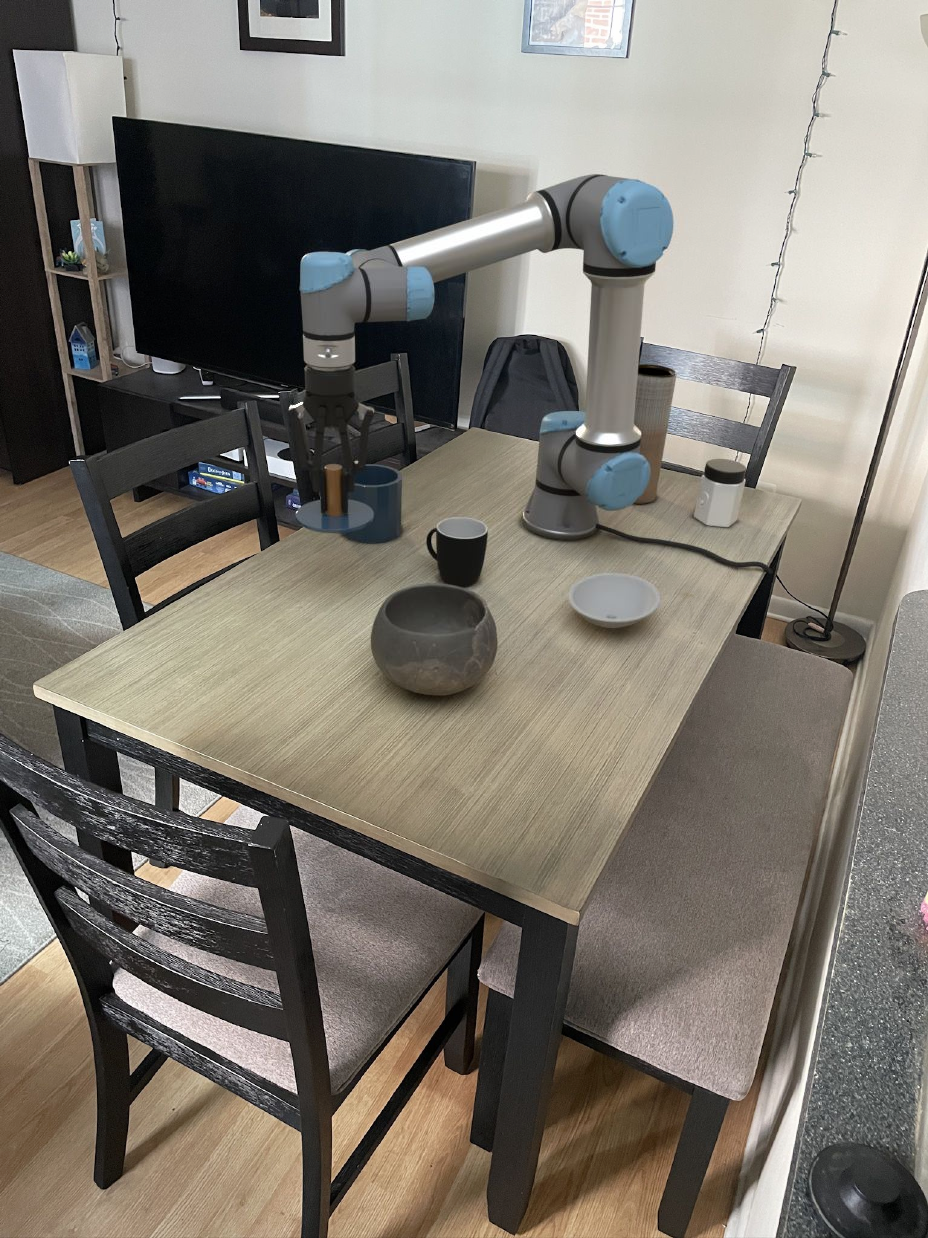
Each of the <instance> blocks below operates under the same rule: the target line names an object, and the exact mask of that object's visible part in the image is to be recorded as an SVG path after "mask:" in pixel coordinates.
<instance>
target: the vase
mask: <svg viewBox="0 0 928 1238" xmlns="http://www.w3.org/2000/svg"><path fill="white" fill-rule="evenodd" d="M677 375H678V374H677V371H676V370H675V369H673V368H670V367H668V366H664V365H659V364H652V363H651V364H649V363H638V374H637V387H636V400H635V412H634V425H635V426H636V427H637V428H638V429H639V430H640V431H641V445H640V455H643V456H644V457H645V458H646V460H647V462H648V463H649V466H650V471H651V473H650V480H649V483H648V486H647V488H646V490H645V491H644V493H643V494H642V495H641V496H640V497H638V498H637V500H636V501H635V502H634V503H633V504H632V505H644V504H645V505H646V504H651V503H652V502H654V501H655V500H656V497H657V491H658V485H659V481H660V474H661V469H662V464H663V463H662V462H663V457H664V453H665V452H664V451H665V446H666V445H665V444H666V439H667V433H668V428H669V421H670V416H671V410H672V405H673V400H674V399H673V398H674V393H675V388H676V387H675V386H676V380H677Z"/></svg>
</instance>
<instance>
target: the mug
mask: <svg viewBox="0 0 928 1238" xmlns="http://www.w3.org/2000/svg"><path fill="white" fill-rule="evenodd" d="M434 534H435V548H436V549H434V547H433V543H432V538H433V535H434ZM488 537H489V528H488V526H487V525H486V523H484V522H483V521H481V520H479V519H476V518H471V517H464V516H455V517H448V518H445V519H442V520H440V521H439V522H438V523H437V524H436V527H434V528H432V529H430V531H429V532H428V534H427V535H426V540H425V542H426V544H425V545H426V549H427V551H428V553H429V554H430V557H432V558H433V560H435V561H436V562H437V568H438V573H439V577H440V579H441V580H442V582H443V583H444V584H449V585H454V586H459V587H462V588H468V587H471V586H473V585H475V584H476V583H477V582H478V581H479V578H480V577H481V574H482V571H483V567H484V563H485V558H486V551H487V545H488Z"/></svg>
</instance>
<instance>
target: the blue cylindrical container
mask: <svg viewBox="0 0 928 1238" xmlns="http://www.w3.org/2000/svg"><path fill="white" fill-rule="evenodd" d="M348 499H349V500H355V501H358V502H361V503H364V504H366V505H368V506H369V507H370V508H371V509H372V510H373V512H374V519H373V521H372V522H371V523H370V524H369V525H368V526H366V527H364V528H362V529H359V530H355V531H351V532H345V533H342V535H343V536H344V537H345V538H347V539H349V540H350V541H354V542H358V543H363V544H381V543H386V542H390V541H394V540H395V539H396V538H398V537H399V536H400V535H401V533H402V506H403V504H402V503H403V502H402V501H403V473H401V471H399V470H398V469H396V468H394V467H391V466H389V465H382V464H377V463H376V464H373V463H372V464H371V463H366V465H365V470H363V471H357V472H356V473H355V490H354V492H348Z"/></svg>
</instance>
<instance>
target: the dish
mask: <svg viewBox="0 0 928 1238" xmlns="http://www.w3.org/2000/svg"><path fill="white" fill-rule="evenodd" d="M567 595H568V596H567V599H568V602H569V605H570V607H571V608H572V609H573V610H574V611H576V612H577V613H578V614H579V615H580V616H581V617H582V618H584V620H586V621H588V622H589V623H591V624H592V625H596V626H598V627H601V628H606V629H607V628H608V629H620V628H625V627H629V626H632V625H634V624H637V623H638V622H640V621H642V620H644V619H645V618H647V617H649V616H651V615H652V614H653V613H655V612H656V611H657V610H658V608H659V606H660V604H661V594H660V591H659V589H658V588H657V587H656V586H654V584H652V583H651V582H650V581H648V580H646V579H644V578H641V577H639V576H635V575H632V574H629V573H628V574H627V573H621V572H620V573H619V572H605V573H604V572H603V573H597V574H592V575H588V576H586V577H583V578H581V579H580V580H578V581H577V582H575V583H574V584H573V585H572V586H571V587H570V589H569V591H568V594H567Z"/></svg>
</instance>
